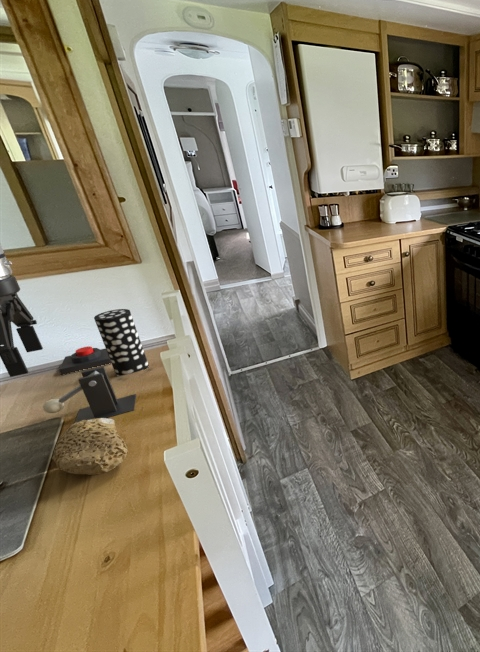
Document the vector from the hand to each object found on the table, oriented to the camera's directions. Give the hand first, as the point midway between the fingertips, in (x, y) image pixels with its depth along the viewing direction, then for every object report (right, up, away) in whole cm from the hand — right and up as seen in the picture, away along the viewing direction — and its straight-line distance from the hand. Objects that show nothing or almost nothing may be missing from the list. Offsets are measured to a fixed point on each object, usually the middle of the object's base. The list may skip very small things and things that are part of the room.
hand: (27, 361), depth 91 cm
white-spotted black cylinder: (-3, -8, +32) cm, 33 cm away
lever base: (+8, -16, +12) cm, 21 cm away
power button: (-21, -3, +34) cm, 40 cm away
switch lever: (+5, -10, +7) cm, 14 cm away
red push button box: (-21, -6, +36) cm, 42 cm away
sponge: (+20, -22, -3) cm, 30 cm away
